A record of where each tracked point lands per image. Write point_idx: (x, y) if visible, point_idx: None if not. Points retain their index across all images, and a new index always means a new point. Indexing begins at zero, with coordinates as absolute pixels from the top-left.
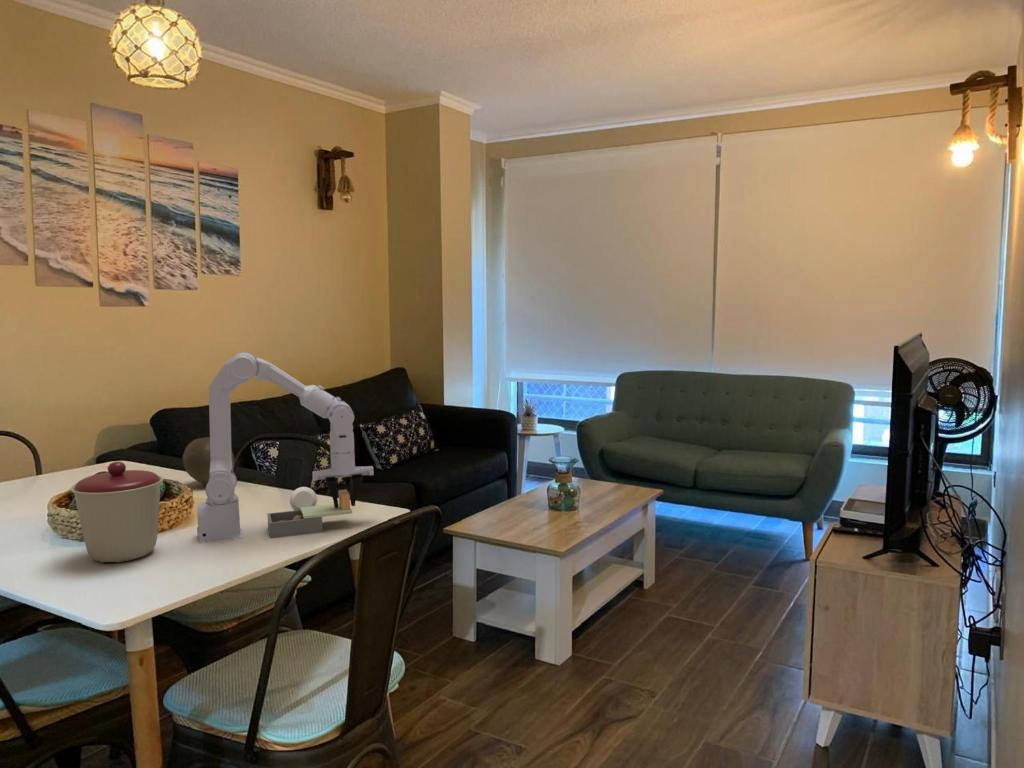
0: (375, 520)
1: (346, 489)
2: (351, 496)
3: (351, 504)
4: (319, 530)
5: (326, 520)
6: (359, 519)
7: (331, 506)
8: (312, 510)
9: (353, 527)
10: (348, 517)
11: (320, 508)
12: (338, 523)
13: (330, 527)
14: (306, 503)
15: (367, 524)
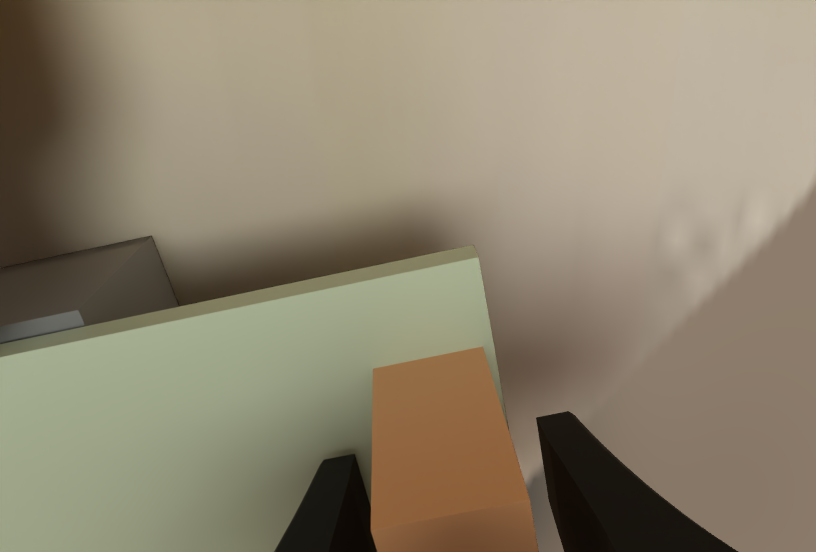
0: (727, 221)
1: (526, 501)
2: (580, 535)
3: (544, 462)
4: None
5: (211, 121)
6: (572, 153)
7: (276, 409)
8: (69, 533)
9: (506, 397)
10: (452, 43)
11: (147, 471)
12: (359, 256)
13: None
14: None
15: (634, 334)
